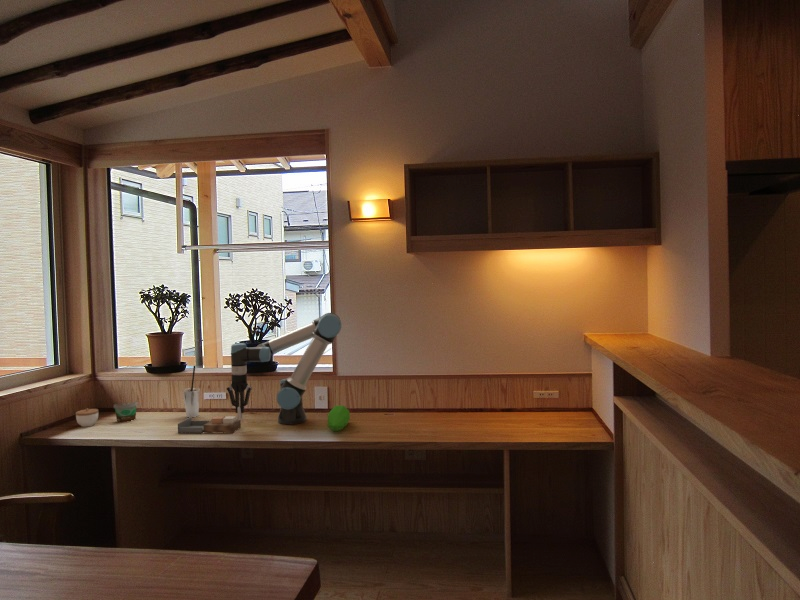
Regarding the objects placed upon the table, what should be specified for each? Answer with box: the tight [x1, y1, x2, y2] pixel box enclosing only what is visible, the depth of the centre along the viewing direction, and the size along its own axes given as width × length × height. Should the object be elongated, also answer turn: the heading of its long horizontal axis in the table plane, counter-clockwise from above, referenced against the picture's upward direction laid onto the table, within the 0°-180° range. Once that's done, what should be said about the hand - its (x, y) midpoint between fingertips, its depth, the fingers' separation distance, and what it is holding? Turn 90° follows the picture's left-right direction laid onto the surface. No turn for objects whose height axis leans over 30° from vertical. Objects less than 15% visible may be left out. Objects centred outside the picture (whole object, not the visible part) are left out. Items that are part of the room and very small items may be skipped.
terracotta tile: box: [211, 415, 226, 424], centre depth 276 cm, size 5×5×2 cm
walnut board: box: [203, 418, 242, 434], centre depth 276 cm, size 15×11×4 cm
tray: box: [177, 417, 210, 434], centre depth 278 cm, size 13×13×5 cm
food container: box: [113, 400, 139, 423], centre depth 297 cm, size 12×6×10 cm, turn 129°
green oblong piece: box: [327, 405, 351, 432], centre depth 273 cm, size 11×12×30 cm
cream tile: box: [223, 415, 237, 424], centre depth 276 cm, size 5×5×2 cm
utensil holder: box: [181, 365, 202, 418], centre depth 304 cm, size 11×11×30 cm
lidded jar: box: [75, 407, 99, 428], centre depth 290 cm, size 11×11×9 cm
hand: (240, 419), depth 275 cm, fingers closed
